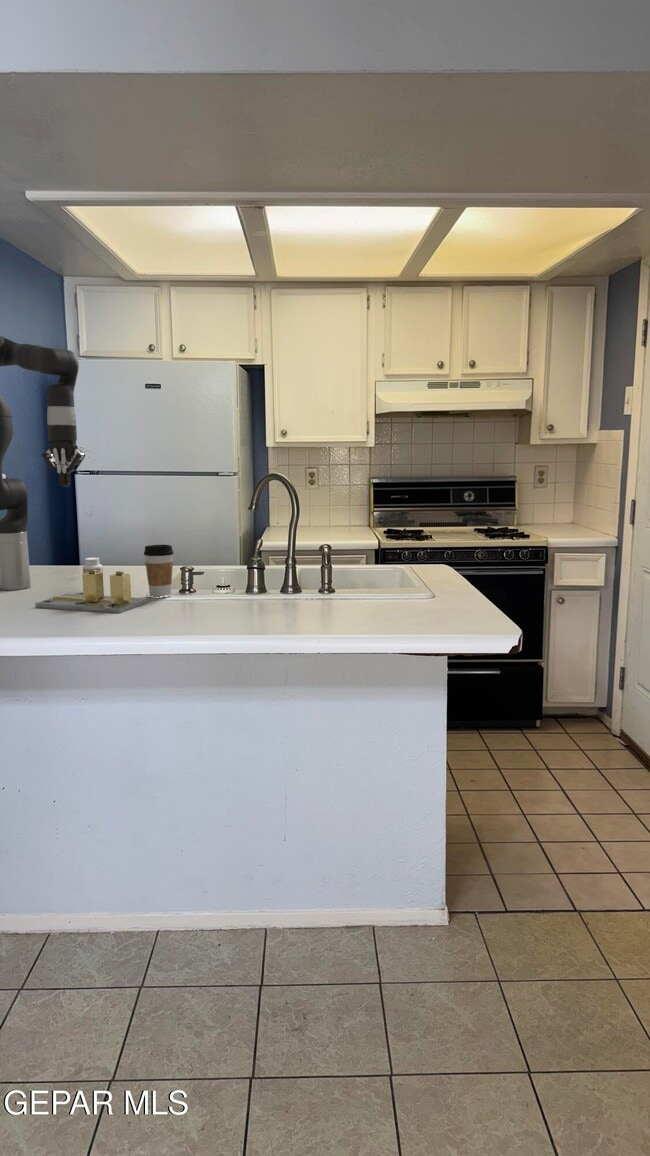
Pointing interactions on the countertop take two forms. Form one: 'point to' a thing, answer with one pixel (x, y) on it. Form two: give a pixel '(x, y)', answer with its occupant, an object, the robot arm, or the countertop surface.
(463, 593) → the countertop surface
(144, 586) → the countertop surface
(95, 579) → the block
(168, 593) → the coffee cup
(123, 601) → the dividers beam
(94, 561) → the supplement bottle
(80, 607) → the hole plate
